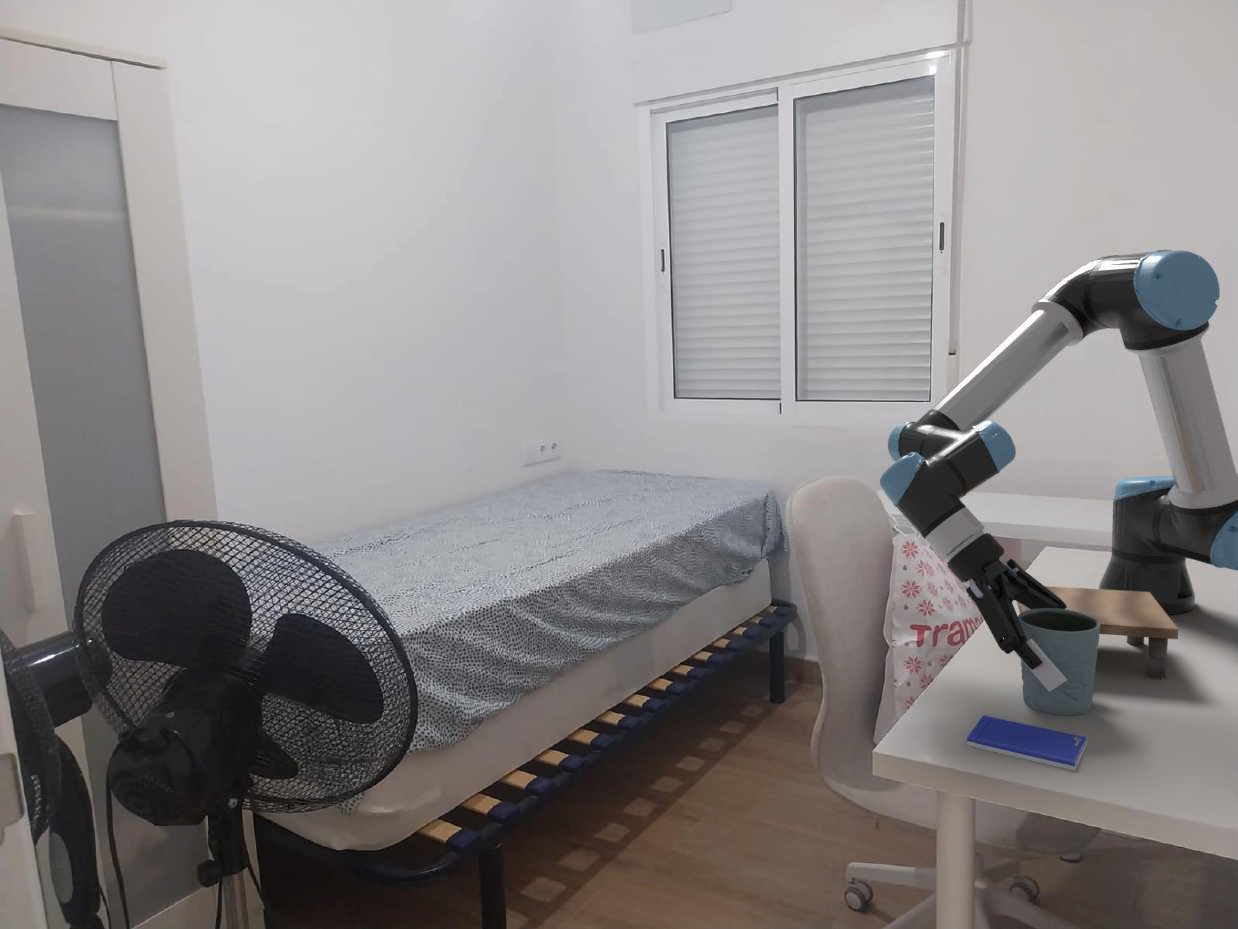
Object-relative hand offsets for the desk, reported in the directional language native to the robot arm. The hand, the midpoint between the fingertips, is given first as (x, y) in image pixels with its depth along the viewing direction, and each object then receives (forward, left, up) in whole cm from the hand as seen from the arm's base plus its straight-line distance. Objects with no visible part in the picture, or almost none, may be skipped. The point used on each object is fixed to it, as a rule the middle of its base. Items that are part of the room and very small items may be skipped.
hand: (1073, 670), depth 123 cm
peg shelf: (-5, -21, -5) cm, 22 cm away
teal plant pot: (+2, -1, -5) cm, 6 cm away
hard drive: (+7, +13, -6) cm, 16 cm away
